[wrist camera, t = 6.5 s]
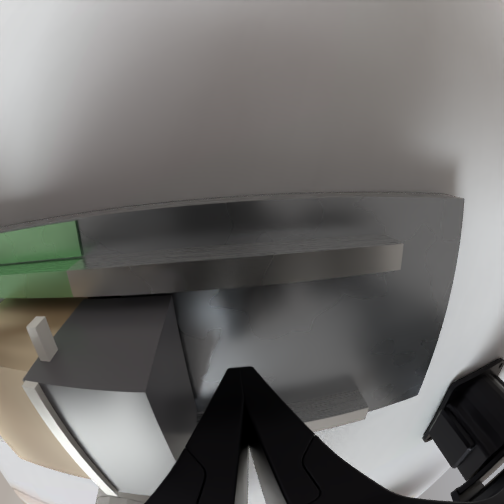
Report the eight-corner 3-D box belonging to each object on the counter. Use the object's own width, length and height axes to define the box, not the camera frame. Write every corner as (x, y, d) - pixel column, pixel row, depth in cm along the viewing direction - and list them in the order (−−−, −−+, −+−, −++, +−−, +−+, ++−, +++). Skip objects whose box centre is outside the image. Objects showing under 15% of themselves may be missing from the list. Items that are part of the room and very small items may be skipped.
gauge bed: (445, 194, 10) (485, 204, 8) (407, 381, 13) (428, 409, 11) (-33, 234, 8) (-66, 250, 6) (35, 404, 11) (20, 433, 9)
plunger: (167, 266, 8) (128, 361, 4) (197, 409, 10) (195, 503, 6) (76, 272, 8) (0, 350, 4) (124, 408, 9) (103, 493, 5)
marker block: (86, 295, 8) (28, 371, 4) (126, 403, 10) (106, 482, 6) (7, 296, 8) (-53, 352, 4) (51, 394, 9) (20, 458, 6)
